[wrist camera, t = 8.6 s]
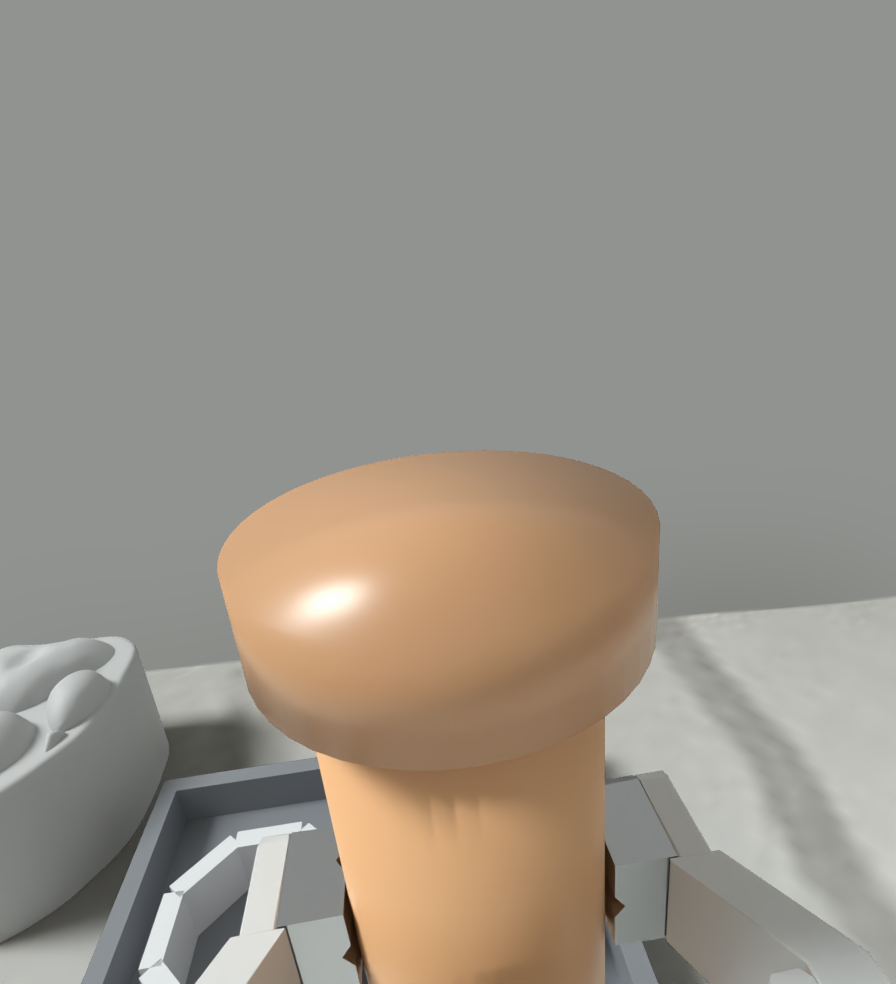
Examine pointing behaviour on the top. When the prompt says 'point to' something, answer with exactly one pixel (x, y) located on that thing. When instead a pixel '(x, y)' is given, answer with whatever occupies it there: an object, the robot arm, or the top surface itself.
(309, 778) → the tray
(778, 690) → the top surface
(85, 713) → the lumpy-topped squat cylinder
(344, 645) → the round-headed peg
